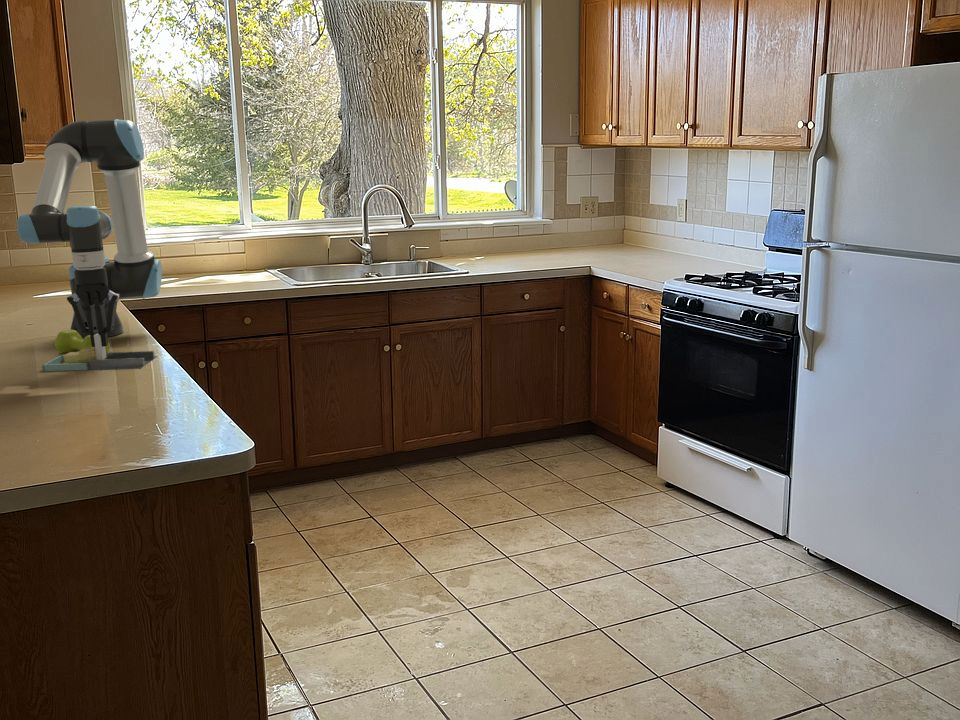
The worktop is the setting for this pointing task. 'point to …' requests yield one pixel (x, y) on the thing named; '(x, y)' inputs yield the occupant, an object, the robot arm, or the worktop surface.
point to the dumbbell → (73, 342)
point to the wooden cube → (87, 355)
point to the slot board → (122, 361)
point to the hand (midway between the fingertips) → (101, 358)
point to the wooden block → (72, 358)
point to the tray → (62, 365)
